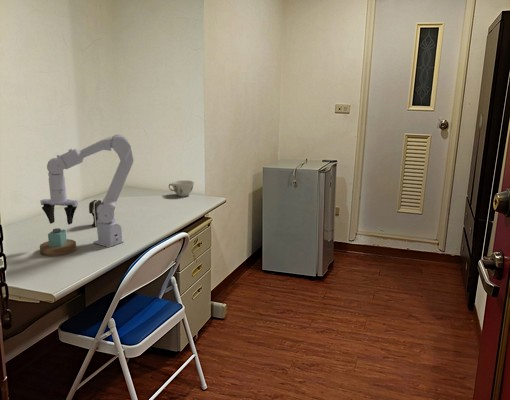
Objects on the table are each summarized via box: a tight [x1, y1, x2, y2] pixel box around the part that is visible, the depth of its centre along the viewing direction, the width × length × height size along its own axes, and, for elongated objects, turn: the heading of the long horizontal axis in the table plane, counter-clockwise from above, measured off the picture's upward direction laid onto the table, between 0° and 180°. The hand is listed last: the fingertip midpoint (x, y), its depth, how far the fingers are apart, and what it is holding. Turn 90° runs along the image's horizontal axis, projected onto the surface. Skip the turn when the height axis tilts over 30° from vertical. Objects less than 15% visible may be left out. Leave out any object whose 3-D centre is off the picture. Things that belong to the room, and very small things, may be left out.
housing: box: [47, 228, 68, 247], centre depth 183 cm, size 4×6×6 cm
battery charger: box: [88, 199, 102, 228], centre depth 217 cm, size 7×4×11 cm, turn 176°
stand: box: [39, 238, 77, 257], centre depth 184 cm, size 13×13×2 cm
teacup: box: [168, 180, 195, 198], centre depth 276 cm, size 15×12×8 cm
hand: (61, 223), depth 186 cm, fingers open, 7 cm apart
